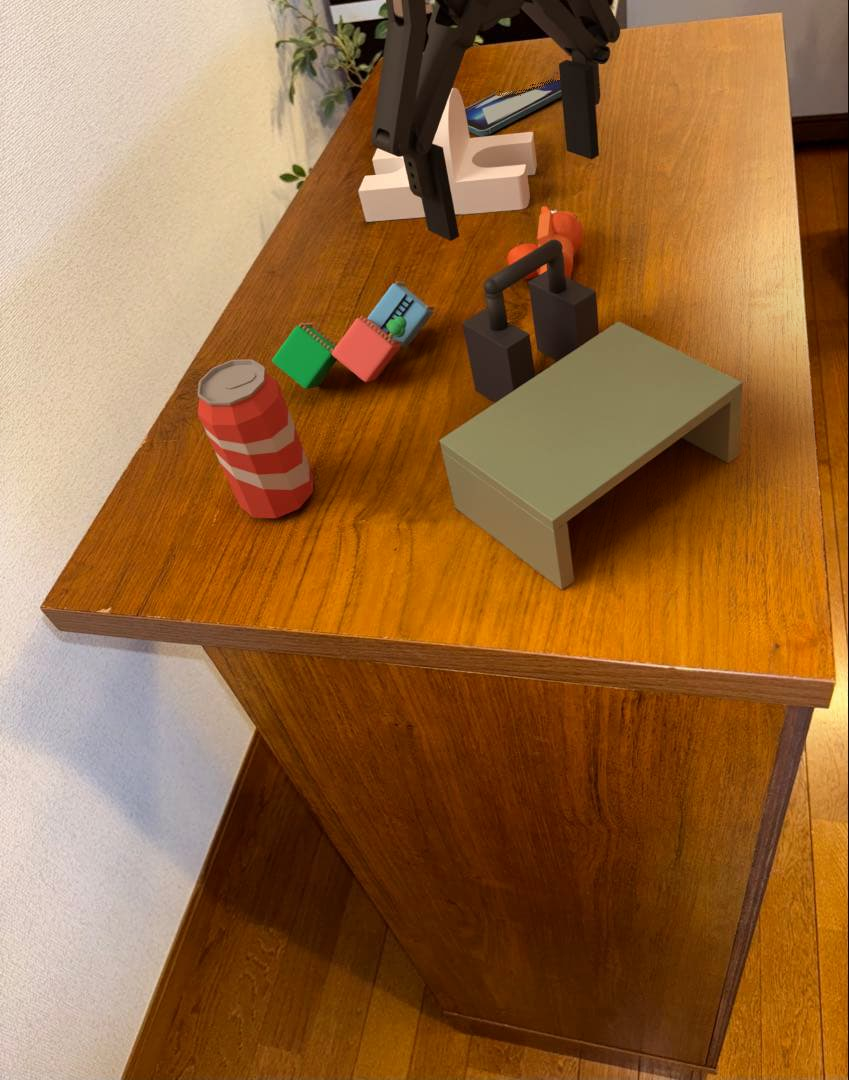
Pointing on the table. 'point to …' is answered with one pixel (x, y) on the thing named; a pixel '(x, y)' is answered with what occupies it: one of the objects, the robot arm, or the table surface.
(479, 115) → the smartphone
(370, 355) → the building blocks
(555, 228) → the orange toy bird
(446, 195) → the robot arm
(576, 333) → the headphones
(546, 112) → the table surface
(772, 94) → the table surface
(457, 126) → the white thick notched block
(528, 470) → the shelf
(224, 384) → the beverage can
